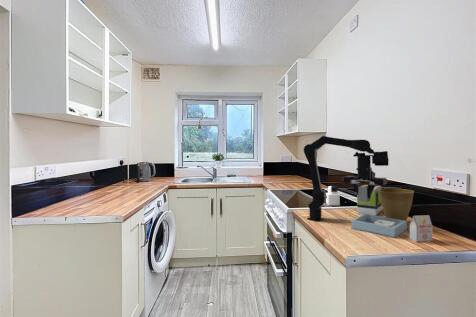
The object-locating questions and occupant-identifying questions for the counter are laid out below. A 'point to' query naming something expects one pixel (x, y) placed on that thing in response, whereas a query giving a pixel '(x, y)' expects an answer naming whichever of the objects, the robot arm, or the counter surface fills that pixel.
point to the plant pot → (396, 202)
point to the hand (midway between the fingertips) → (364, 198)
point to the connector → (363, 194)
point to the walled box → (368, 225)
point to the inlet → (385, 223)
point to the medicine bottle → (333, 196)
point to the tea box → (370, 203)
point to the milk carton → (421, 229)
